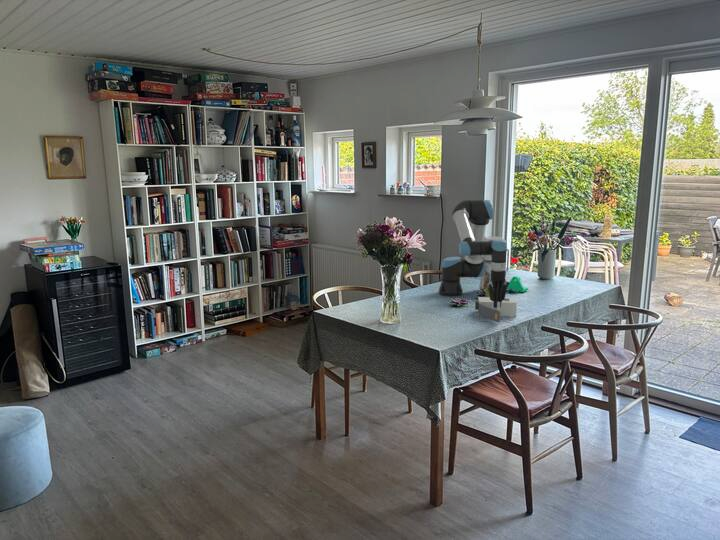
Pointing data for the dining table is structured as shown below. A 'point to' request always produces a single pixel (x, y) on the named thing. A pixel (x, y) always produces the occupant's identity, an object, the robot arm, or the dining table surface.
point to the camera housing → (505, 310)
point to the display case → (487, 266)
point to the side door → (489, 313)
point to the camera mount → (516, 285)
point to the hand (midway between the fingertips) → (496, 313)
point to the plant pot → (487, 292)
